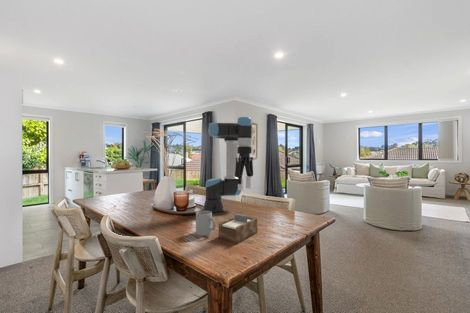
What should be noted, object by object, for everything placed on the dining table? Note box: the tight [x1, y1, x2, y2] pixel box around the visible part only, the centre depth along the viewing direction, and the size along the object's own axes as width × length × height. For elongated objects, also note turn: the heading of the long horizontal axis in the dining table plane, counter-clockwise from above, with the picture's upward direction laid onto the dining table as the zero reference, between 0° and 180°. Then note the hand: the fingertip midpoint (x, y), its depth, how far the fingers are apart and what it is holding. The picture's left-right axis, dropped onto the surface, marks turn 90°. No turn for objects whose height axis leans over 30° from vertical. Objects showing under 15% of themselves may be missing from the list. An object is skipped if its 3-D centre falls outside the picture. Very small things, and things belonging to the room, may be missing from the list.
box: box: [218, 216, 258, 244], centre depth 118 cm, size 18×12×8 cm, turn 145°
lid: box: [222, 213, 250, 229], centre depth 117 cm, size 16×9×4 cm, turn 145°
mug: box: [195, 210, 216, 237], centre depth 120 cm, size 12×8×11 cm
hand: (244, 189), depth 122 cm, fingers open, 7 cm apart
